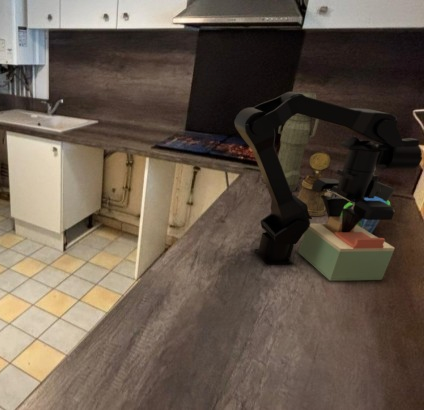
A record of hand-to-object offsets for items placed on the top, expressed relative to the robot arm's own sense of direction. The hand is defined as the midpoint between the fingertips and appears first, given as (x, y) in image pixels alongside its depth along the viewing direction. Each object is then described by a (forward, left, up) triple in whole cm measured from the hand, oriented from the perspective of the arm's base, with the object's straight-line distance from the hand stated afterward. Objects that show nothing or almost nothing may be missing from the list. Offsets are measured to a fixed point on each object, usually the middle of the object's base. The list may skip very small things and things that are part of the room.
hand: (338, 230), depth 86 cm
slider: (0, -6, 0) cm, 6 cm away
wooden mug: (+14, +31, -8) cm, 35 cm away
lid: (0, -3, -1) cm, 3 cm away
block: (0, 0, -1) cm, 1 cm away
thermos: (+16, +50, -8) cm, 53 cm away
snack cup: (+18, +15, -8) cm, 25 cm away
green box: (0, -3, -8) cm, 9 cm away
